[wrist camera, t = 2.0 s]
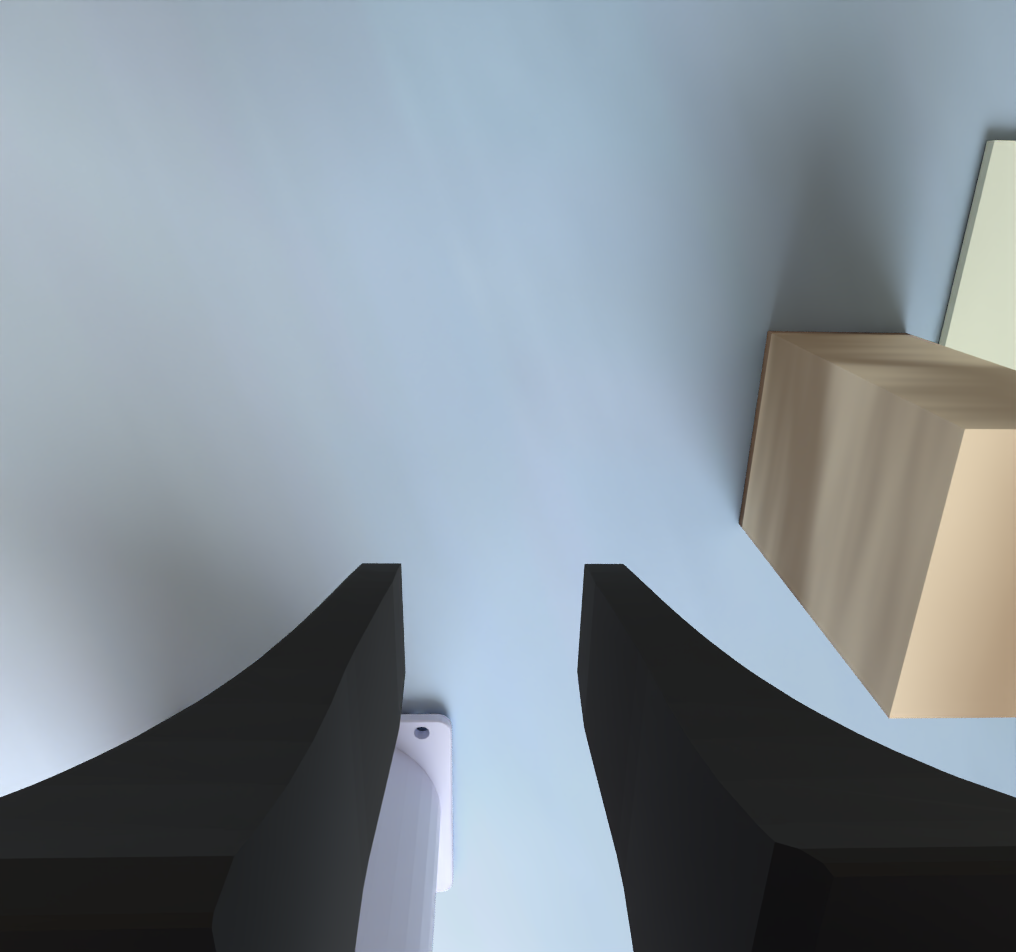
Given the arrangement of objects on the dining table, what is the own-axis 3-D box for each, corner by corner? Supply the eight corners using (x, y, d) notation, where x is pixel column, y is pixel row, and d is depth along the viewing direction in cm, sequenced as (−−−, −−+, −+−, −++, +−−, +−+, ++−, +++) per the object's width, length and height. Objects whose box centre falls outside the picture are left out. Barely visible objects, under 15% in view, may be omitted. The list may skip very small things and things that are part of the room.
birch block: (738, 523, 23) (889, 718, 14) (767, 330, 21) (964, 428, 12) (863, 523, 23) (1084, 716, 15) (906, 333, 21) (1193, 431, 12)
